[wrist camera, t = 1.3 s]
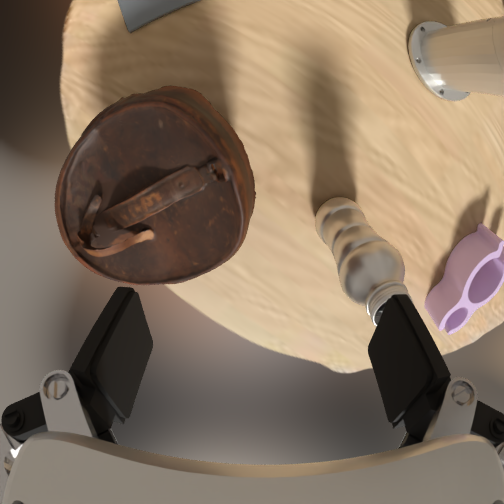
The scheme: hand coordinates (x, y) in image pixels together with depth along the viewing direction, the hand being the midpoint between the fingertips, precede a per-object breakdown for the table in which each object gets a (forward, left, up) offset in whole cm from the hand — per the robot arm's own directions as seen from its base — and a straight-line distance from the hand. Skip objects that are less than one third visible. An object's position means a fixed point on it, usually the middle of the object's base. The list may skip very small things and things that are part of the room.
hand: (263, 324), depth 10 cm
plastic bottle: (-8, +10, -28) cm, 30 cm away
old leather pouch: (+9, -3, -28) cm, 29 cm away
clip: (-32, +29, -28) cm, 51 cm away
